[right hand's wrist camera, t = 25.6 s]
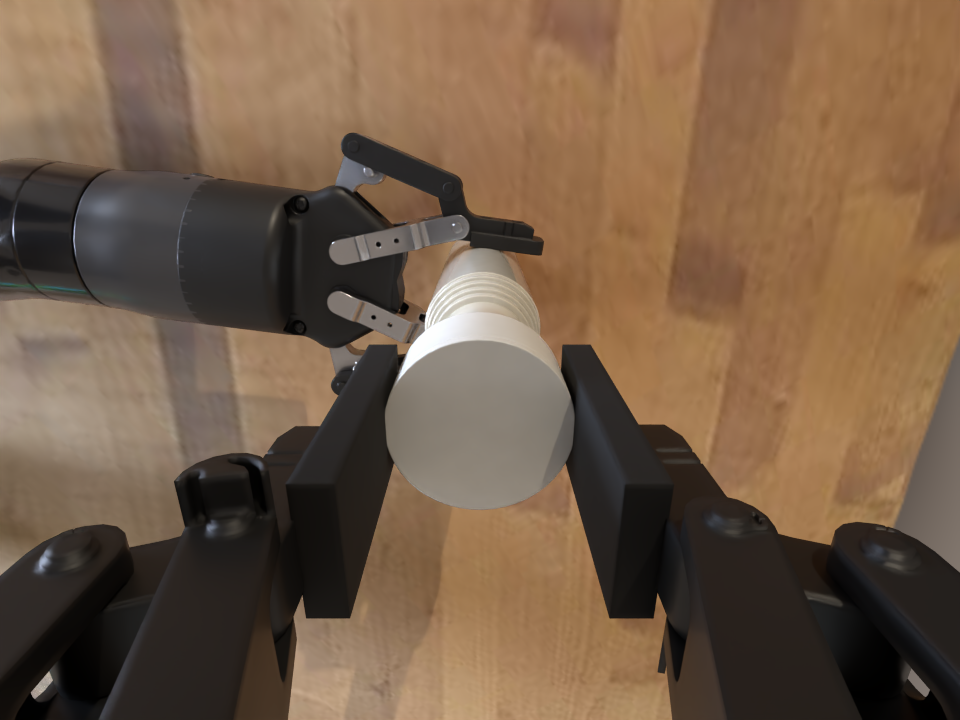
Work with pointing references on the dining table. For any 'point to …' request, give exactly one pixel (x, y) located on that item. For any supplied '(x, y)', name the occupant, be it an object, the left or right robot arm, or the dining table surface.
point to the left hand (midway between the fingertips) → (531, 295)
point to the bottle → (482, 286)
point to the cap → (479, 413)
